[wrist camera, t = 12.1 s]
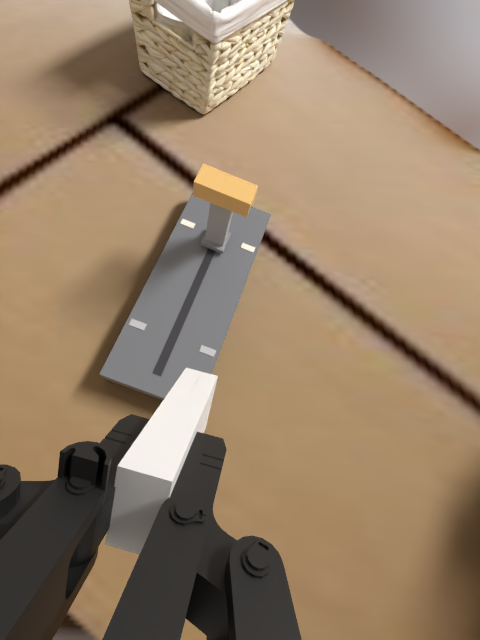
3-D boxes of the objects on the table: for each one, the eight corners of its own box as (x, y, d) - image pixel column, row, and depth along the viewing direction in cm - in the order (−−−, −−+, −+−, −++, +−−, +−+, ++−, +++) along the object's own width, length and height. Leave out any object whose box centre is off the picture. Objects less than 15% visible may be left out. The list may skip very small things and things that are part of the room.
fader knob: (233, 258, 41) (250, 206, 32) (189, 240, 41) (193, 183, 32) (241, 239, 43) (259, 184, 33) (198, 222, 42) (204, 162, 33)
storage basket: (216, 19, 63) (227, -98, 49) (283, 65, 62) (314, -41, 48) (129, 73, 54) (113, -51, 40) (207, 128, 53) (217, 20, 39)
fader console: (196, 412, 37) (197, 410, 35) (105, 379, 37) (99, 374, 34) (265, 227, 48) (270, 214, 45) (195, 199, 48) (196, 184, 45)
